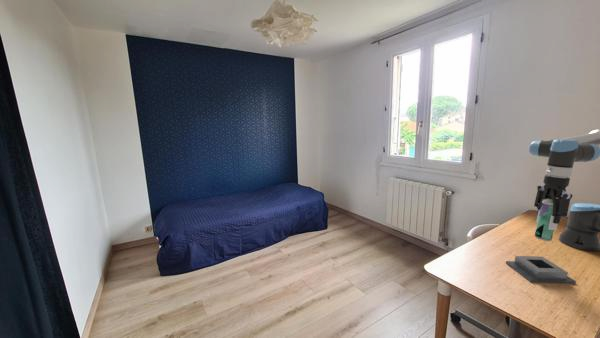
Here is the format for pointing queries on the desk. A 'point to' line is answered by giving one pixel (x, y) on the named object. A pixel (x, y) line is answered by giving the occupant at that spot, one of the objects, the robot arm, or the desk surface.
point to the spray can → (545, 220)
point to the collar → (539, 270)
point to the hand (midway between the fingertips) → (545, 226)
